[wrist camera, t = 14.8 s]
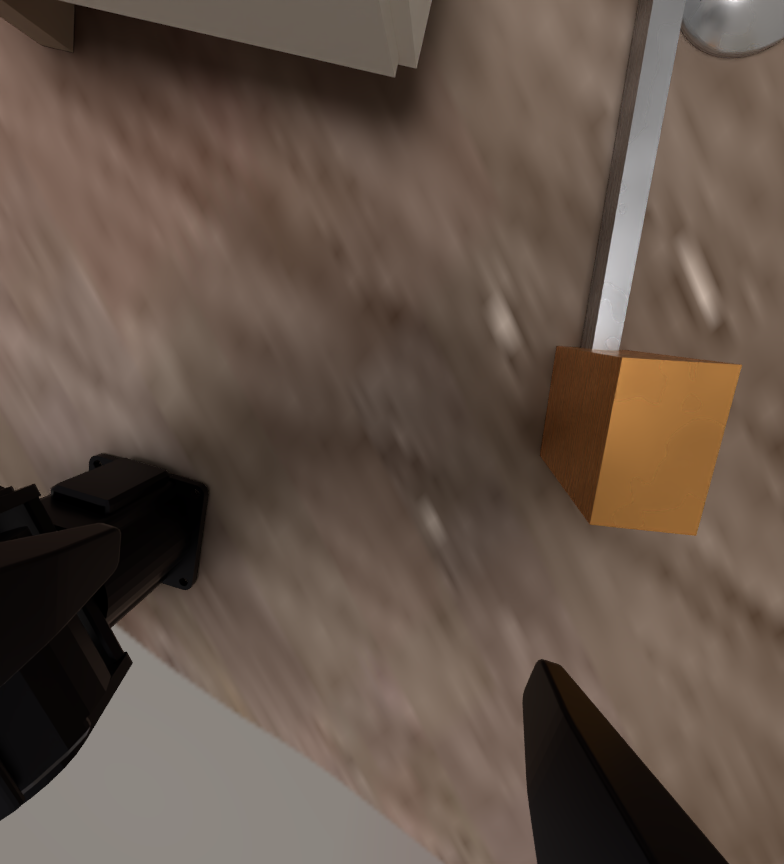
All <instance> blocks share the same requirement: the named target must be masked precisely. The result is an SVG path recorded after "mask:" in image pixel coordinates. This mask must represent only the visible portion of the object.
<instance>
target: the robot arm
mask: <svg viewBox="0 0 784 864" xmlns="http://www.w3.org/2000/svg"><path fill="white" fill-rule="evenodd" d="M100 462H101V463H102V465H101V464H100ZM195 490H197V491H198V492H199V493H200V495H197V494H196V492H195ZM39 496H41V494H40V492H39V491H38V489H37V487H36V485H35V484H32V485H29V486H26V487H23V488H20V489H17V490H14V489H13V487H12V486H11V487H7V488H4V487H2V486H0V820H2V819H3V818H5V817H7V816H8V815H10V814H11V813H12V812H14V811H15V810H17V809H18V808H19V807H20V806H21V805H22V804H24V803H25V802H26V801H28V800H29V799H31V798H32V797H33V796H34V795H35V794H37V793H38V792H39V791H40V790H41V789H43V788H44V787H45V786H46V785H47V784H49V782H50V781H52V780H53V778H55V777H56V776H57V775H58V774H59V773H60V772H61V771H62V770H63V769H64V768H65V767H66V766H67V764H68V763H69V762H70V761H71V760H72V759H73V758H74V756H75V755H76V754H77V753H78V751H79V750H80V748H81V747H82V745H83V744H84V743H85V741H86V739H87V738H88V736H89V734H90V733H91V731H92V729H93V728H94V726H95V725H96V723H97V721H98V720H99V718H100V716H101V714H102V713H103V711H104V709H105V708H106V706H107V705H108V703H109V701H110V700H111V698H112V696H113V694H114V693H115V691H116V690H117V688H118V686H119V685H120V683H121V681H122V680H123V678H124V676H125V675H126V673H127V671H128V670H129V668H130V667H131V665H132V663H133V662H132V660H131V659H130V657H129V655H128V653H127V652H124V651H123V650H122V648H121V646H120V644H119V642H118V641H117V639H116V637H115V635H114V633H113V631H112V630H111V627H112V626H114V625H115V624H116V623H117V622H118V621H119V620H120V619H122V618H123V617H124V616H125V615H126V614H127V613H128V612H129V611H130V610H132V609H133V608H134V607H135V606H136V605H137V604H138V603H139V602H141V601H142V600H143V599H144V598H145V597H146V596H147V595H148V594H149V593H151V592H152V591H153V590H154V589H155V588H156V587H157V586H158V585H159V584H161V583H163V584H167V585H170V586H173V587H176V588H179V589H182V590H188V589H190V588H191V587H192V586H193V585H194V584H195V582H196V578H197V571H198V564H199V556H200V549H201V542H202V535H203V528H204V521H205V514H206V507H207V500H208V489H207V487H206V486H205V485H204V484H203V483H200V482H197V481H194V480H190V479H187V478H184V477H180V476H177V475H174V474H170V473H169V472H168V471H166V470H165V469H161V468H158V467H155V466H151V465H148V464H145V463H141V462H138V461H135V460H131V459H128V458H117V457H114V456H110V455H107V454H98V455H96V456H93V457H91V459H90V461H89V471H88V472H85V473H83V474H80V475H78V476H75V477H73V478H70V479H68V480H65V481H63V482H60V483H58V484H56V485H55V486H53V487H52V488H51V494H50V495H48V496H45V497H43V498H41V499H39ZM184 578H185V579H186V580H187V581H188V582H187V581H185V579H184ZM523 723H524V743H525V764H526V781H527V793H528V801H529V809H530V816H531V823H532V830H533V837H534V844H535V851H536V858H537V864H729V863H728V862H727V861H726V860H725V858H724V857H723V856H722V855H721V854H720V852H719V851H718V850H717V849H716V848H715V847H714V845H713V844H712V843H711V842H710V841H709V839H708V838H707V837H706V836H705V835H704V834H703V832H702V831H701V830H700V829H699V828H698V827H697V825H696V824H695V823H694V822H693V821H692V819H691V818H690V817H689V816H688V815H687V814H686V812H685V811H684V810H683V809H682V808H681V806H680V805H679V804H678V803H677V802H676V801H675V799H674V798H673V797H672V796H671V795H670V793H669V792H668V791H667V790H666V789H665V788H664V786H663V785H662V784H661V783H660V782H659V780H658V779H657V778H656V777H655V776H654V775H653V773H652V772H651V771H650V770H649V769H648V767H647V766H646V765H645V764H644V763H643V762H642V760H641V759H640V758H639V757H638V756H637V755H636V753H635V752H634V751H633V750H632V749H631V747H630V746H629V745H628V744H627V743H626V742H625V740H624V739H623V738H622V737H621V736H620V734H619V733H618V732H617V731H616V730H615V729H614V727H613V726H612V725H611V724H610V723H609V721H608V720H607V719H606V718H605V717H604V716H603V714H602V713H601V712H600V711H599V710H598V708H597V707H596V706H595V705H594V704H593V703H592V701H591V700H590V699H589V698H588V697H587V695H586V694H585V693H584V692H583V691H582V690H581V688H580V687H579V686H578V685H577V684H576V682H575V681H574V680H573V679H572V678H571V677H570V675H569V674H568V673H567V672H566V671H565V670H564V668H563V667H562V666H561V665H559V664H556V663H553V662H550V661H547V660H543V659H541V660H538V661H537V663H536V664H535V666H534V669H533V671H532V673H531V676H530V678H529V680H528V682H527V685H526V687H525V690H524V693H523Z"/></svg>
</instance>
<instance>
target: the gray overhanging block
mask: <svg viewBox="0 0 784 864" xmlns="http://www.w3.org/2000/svg"><path fill="white" fill-rule="evenodd" d="M431 3H432V0H0V17H2V18H3V19H4V20H6V21H7V22H9V23H10V24H12V25H13V26H14V27H16V28H17V29H19V30H20V31H22V32H23V33H25V34H26V35H27V36H29V37H30V38H32V39H33V40H35V41H36V42H37V43H39V44H40V45H43V46H48V47H52V48H56V49H60V50H64V51H69V52H73V40H74V8H75V4H77V5H81V6H86V7H90V8H94V9H99V10H103V11H107V12H112V13H116V14H120V15H125V16H129V17H133V18H138V19H142V20H146V21H151V22H155V23H159V24H164V25H168V26H173V27H177V28H181V29H186V30H190V31H194V32H199V33H203V34H207V35H212V36H216V37H220V38H225V39H229V40H233V41H238V42H242V43H246V44H251V45H255V46H259V47H264V48H268V49H273V50H277V51H281V52H286V53H290V54H294V55H299V56H303V57H307V58H312V59H316V60H320V61H325V62H329V63H333V64H338V65H342V66H346V67H351V68H355V69H360V70H364V71H368V72H373V73H377V74H381V75H386V76H390V77H394V78H395V75H396V70H397V66H398V65H403V66H407V67H411V68H416V69H417V65H418V60H419V56H420V52H421V47H422V43H423V38H424V34H425V29H426V25H427V20H428V16H429V12H430V7H431Z"/></svg>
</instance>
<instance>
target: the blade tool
mask: <svg viewBox="0 0 784 864" xmlns="http://www.w3.org/2000/svg"><path fill="white" fill-rule="evenodd" d="M685 2H686V0H639V2H638V8H637V14H636V20H635V26H634V32H633V38H632V44H631V50H630V56H629V62H628V68H627V74H626V79H625V85H624V91H623V97H622V103H621V109H620V115H619V121H618V127H617V133H616V139H615V145H614V151H613V157H612V163H611V169H610V175H609V181H608V187H607V193H606V199H605V205H604V211H603V217H602V222H601V228H600V234H599V240H598V246H597V252H596V258H595V264H594V270H593V276H592V282H591V288H590V294H589V300H588V306H587V312H586V318H585V324H584V330H583V336H582V342H581V348H580V347H563V346H557V347H556V353H555V360H554V366H553V373H552V380H551V386H550V393H549V399H548V406H547V412H546V419H545V425H544V432H543V438H542V445H541V451H540V456H541V457H542V459H543V460H544V462H545V463H546V464H547V466H548V467H549V469H550V470H551V471H552V473H553V474H554V475H555V477H556V478H557V480H558V481H559V482H560V484H561V485H562V487H563V488H564V489H565V491H566V492H567V493H568V495H569V496H570V498H571V499H572V500H573V502H574V503H575V505H576V506H577V507H578V509H579V510H580V511H581V513H582V514H583V516H584V517H585V518H586V520H587V521H588V523H589V524H590V525H599V526H609V527H618V528H628V529H637V530H647V531H656V532H666V533H675V534H685V535H694V536H696V534H697V530H698V527H699V523H700V519H701V516H702V512H703V508H704V504H705V501H706V497H707V493H708V489H709V486H710V482H711V478H712V475H713V471H714V467H715V463H716V460H717V456H718V452H719V449H720V445H721V441H722V437H723V434H724V430H725V426H726V422H727V419H728V415H729V411H730V408H731V404H732V400H733V396H734V393H735V389H736V385H737V381H738V378H739V374H740V370H741V367H742V365H739V364H731V363H723V362H715V361H707V360H700V359H692V358H684V357H676V356H669V355H661V354H653V353H645V352H638V351H630V350H619V347H620V341H621V336H622V331H623V326H624V320H625V315H626V310H627V305H628V300H629V294H630V289H631V284H632V279H633V273H634V268H635V263H636V258H637V253H638V247H639V242H640V237H641V232H642V226H643V221H644V216H645V211H646V206H647V200H648V195H649V190H650V185H651V179H652V174H653V169H654V164H655V158H656V153H657V148H658V143H659V138H660V132H661V127H662V122H663V117H664V111H665V106H666V101H667V96H668V91H669V85H670V80H671V75H672V70H673V64H674V59H675V54H676V49H677V44H678V38H679V33H680V28H681V23H682V17H683V12H684V7H685Z"/></svg>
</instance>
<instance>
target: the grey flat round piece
mask: <svg viewBox="0 0 784 864" xmlns="http://www.w3.org/2000/svg"><path fill="white" fill-rule="evenodd" d="M680 30H681V31H682V33H683V34H684V36H685V37H686V38H687V40H688V41H689V42H690V43H691V44H692V45H694V46H695V47H696V48H698V49H699V50H701V51H702V52H705V53H707V54H709V55H712V56H716V57H721V58H740V57H745V56H750V55H753V54H756V53H759V52H761V51H763V50H766V49H768V48H770V47H771V46H773V45H775V44H777V43H778V42H780V41H781V40H782V39H784V0H686V2H685V7H684V12H683V17H682V23H681V28H680Z"/></svg>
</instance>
